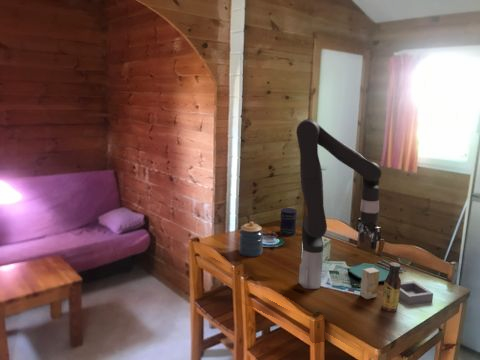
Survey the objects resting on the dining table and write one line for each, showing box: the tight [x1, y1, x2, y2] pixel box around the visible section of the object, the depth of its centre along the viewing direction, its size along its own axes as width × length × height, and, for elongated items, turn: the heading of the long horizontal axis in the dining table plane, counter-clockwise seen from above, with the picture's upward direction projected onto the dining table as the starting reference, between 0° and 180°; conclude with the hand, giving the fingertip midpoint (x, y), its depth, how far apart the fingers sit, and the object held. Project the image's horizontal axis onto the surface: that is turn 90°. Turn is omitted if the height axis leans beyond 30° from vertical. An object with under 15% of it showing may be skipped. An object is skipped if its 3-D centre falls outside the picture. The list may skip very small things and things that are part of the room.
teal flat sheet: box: [348, 259, 407, 283], centre depth 207 cm, size 20×30×2 cm, turn 124°
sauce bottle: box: [381, 261, 402, 313], centre depth 171 cm, size 6×6×20 cm
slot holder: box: [399, 281, 434, 306], centre depth 183 cm, size 12×12×4 cm
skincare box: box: [359, 267, 380, 300], centre depth 182 cm, size 6×4×12 cm
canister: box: [238, 221, 264, 258], centre depth 226 cm, size 13×13×18 cm
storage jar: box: [279, 207, 298, 237], centre depth 258 cm, size 10×10×15 cm
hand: (367, 245), depth 181 cm, fingers open, 8 cm apart
